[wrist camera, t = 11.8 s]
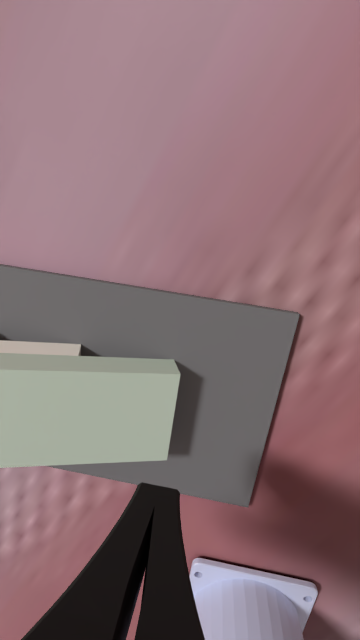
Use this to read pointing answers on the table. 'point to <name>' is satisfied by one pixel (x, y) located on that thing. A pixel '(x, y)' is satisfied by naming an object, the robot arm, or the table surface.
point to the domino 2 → (85, 409)
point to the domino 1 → (40, 348)
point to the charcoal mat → (192, 362)
